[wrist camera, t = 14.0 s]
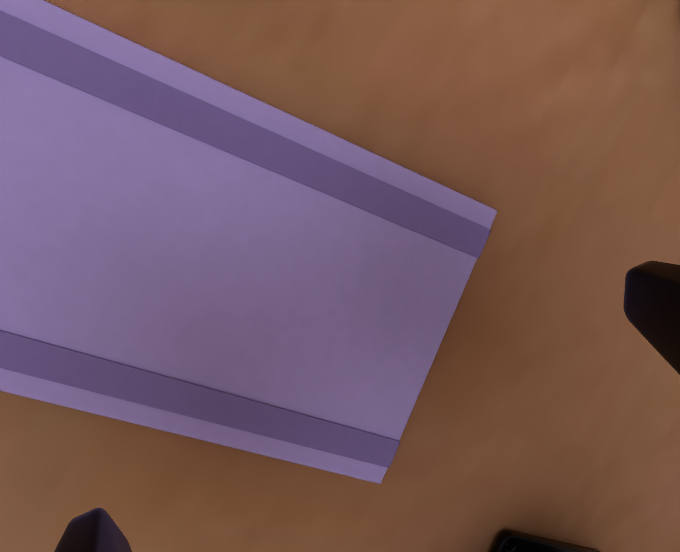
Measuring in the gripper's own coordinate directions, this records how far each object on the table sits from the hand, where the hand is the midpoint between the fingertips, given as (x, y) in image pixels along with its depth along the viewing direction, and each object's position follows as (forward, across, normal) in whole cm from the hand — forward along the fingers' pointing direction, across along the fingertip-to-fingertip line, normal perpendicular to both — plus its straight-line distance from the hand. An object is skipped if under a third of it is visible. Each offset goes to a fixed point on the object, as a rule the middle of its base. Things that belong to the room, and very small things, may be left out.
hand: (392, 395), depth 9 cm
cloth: (+12, +2, +3) cm, 13 cm away
